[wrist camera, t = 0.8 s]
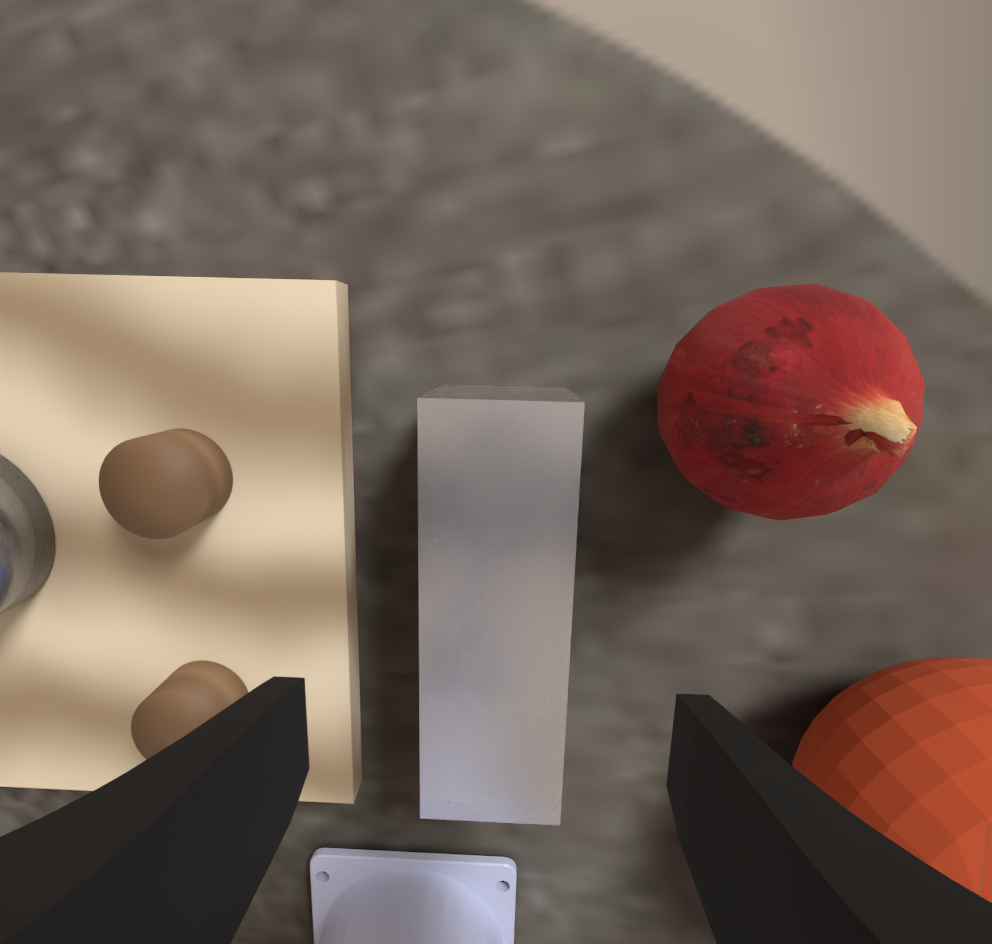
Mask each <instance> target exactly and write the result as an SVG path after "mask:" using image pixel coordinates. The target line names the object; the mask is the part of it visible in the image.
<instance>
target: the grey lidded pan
mask: <svg viewBox="0 0 992 944" xmlns="http://www.w3.org/2000/svg"><path fill="white" fill-rule="evenodd" d="M54 554H55V536H54V529H53V524H52V520H51V517H50V514H49V511H48V508H47V506H46V504H45V502H44V500H43V498H42V496H41V495H40V493H39V492H38V490H37V489H36V487H35V486H34V484H33V483H32V482H31V481H30V479H29V478H28V477H27V476H26V475H25V474H24V473H23V472H22V471H21V470H20V469H19V468H18V467H17V466H16V465H14V464H13V463H12V462H11V461H9V460H8V459H7V458H5V457H4V456H2V455H1V454H0V615H1V614H2V613H4V612H6V611H8V610H10V609H12V608H14V607H16V606H18V605H20V604H22V603H23V602H25V601H26V600H28V599H29V598H31V597H32V596H33V595H34V594H35V593H36V592H37V591H38V590H39V589H40V587H41V586H42V585H43V584H44V582H45V580H46V578H47V576H48V575H49V572H50V570H51V567H52V564H53V559H54Z"/></svg>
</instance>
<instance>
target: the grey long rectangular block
mask: <svg viewBox="0 0 992 944" xmlns="http://www.w3.org/2000/svg"><path fill="white" fill-rule="evenodd" d="M584 405H585V402H584V401H582V400H581V399H580V398H579V397H577V396H576V395H575V394H574V393H572V392H571V391H570V390H569V389H568V388H553V387H516V386H478V385H441V386H439V387H437V388H435V389H433V390H431V391H430V392H428V393H426V394H424V395H422V396H420V397H418V398H417V414H418V573H419V731H420V818H422V819H442V820H463V821H483V822H504V823H524V824H545V825H560V816H561V799H562V782H563V765H564V748H565V730H566V713H567V696H568V679H569V662H570V645H571V628H572V610H573V593H574V576H575V559H576V542H577V525H578V508H579V490H580V473H581V456H582V439H583V422H584Z"/></svg>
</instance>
